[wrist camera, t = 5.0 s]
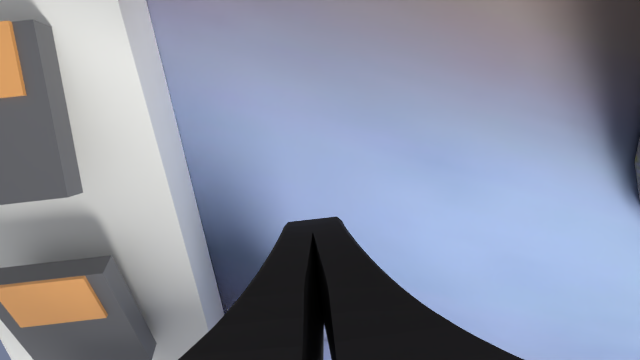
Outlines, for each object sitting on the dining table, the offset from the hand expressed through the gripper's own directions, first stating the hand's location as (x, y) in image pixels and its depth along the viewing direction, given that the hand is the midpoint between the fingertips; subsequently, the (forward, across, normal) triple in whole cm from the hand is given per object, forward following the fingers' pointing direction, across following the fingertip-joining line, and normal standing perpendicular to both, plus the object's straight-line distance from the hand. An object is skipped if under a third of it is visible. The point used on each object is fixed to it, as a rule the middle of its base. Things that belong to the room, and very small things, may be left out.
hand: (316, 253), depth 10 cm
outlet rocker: (+6, +11, -3) cm, 13 cm away
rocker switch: (+6, +11, +6) cm, 14 cm away
